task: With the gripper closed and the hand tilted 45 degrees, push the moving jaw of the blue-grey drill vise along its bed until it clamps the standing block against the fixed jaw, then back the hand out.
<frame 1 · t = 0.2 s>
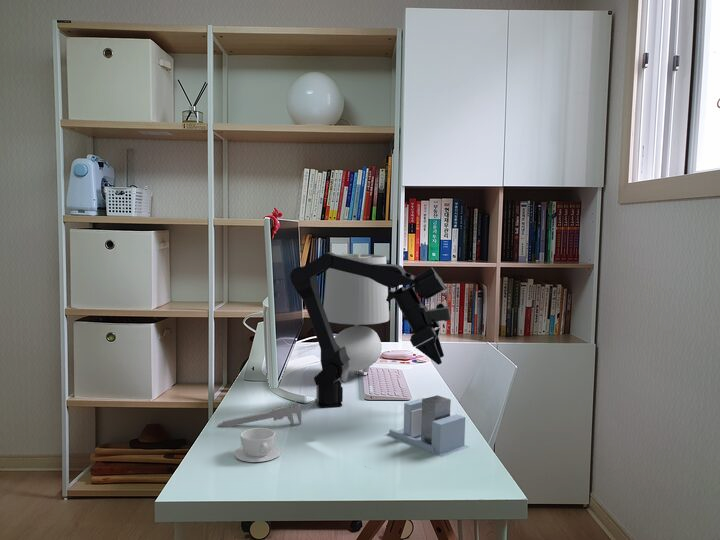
hand: (441, 360, 154), 15 cm above the table, tool tilted 30°, fingers open, 9 cm apart
free jaw: (417, 418, 136), point 5 cm above the table, slide at 0.0 cm
block: (435, 442, 132), point 1 cm above the table, touching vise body
table lamp: (354, 377, 191), on the table
teacup: (258, 455, 127), on the table
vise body: (428, 445, 134), on the table
caliper: (259, 426, 145), on the table
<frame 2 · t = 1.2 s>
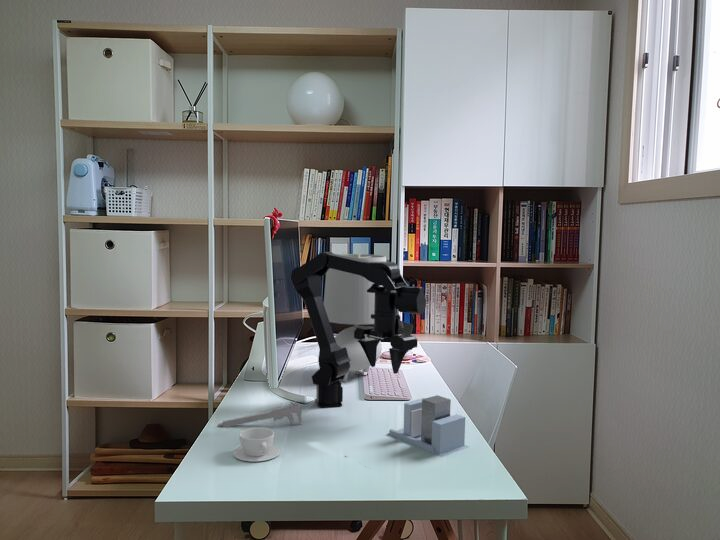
hand: (384, 370, 153), 12 cm above the table, tool pointing down, fingers open, 8 cm apart
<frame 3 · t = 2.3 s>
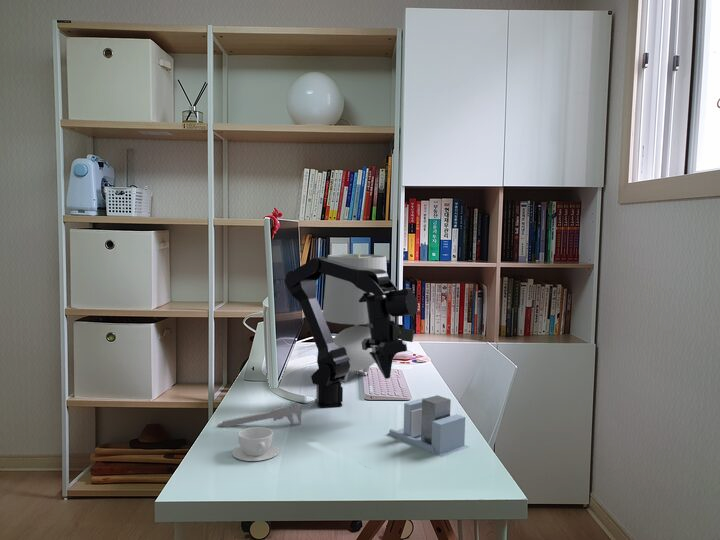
hand: (387, 378, 151), 10 cm above the table, tool pointing down, fingers closed
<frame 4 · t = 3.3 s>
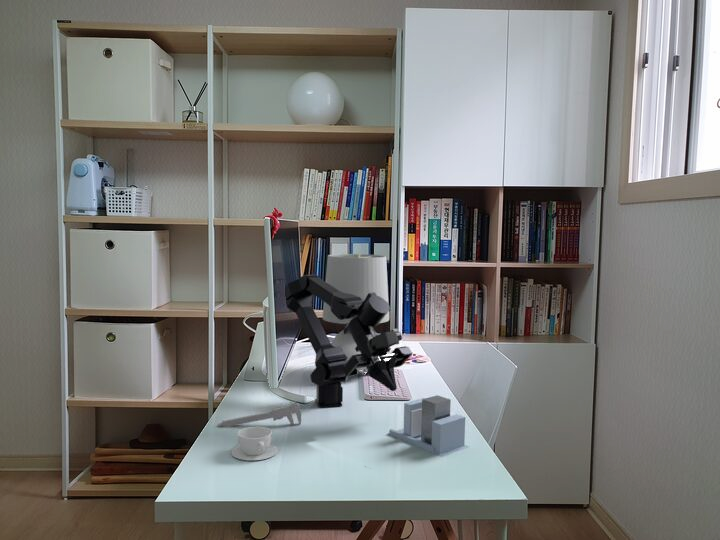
hand: (394, 390, 142), 10 cm above the table, tool tilted 45°, fingers closed
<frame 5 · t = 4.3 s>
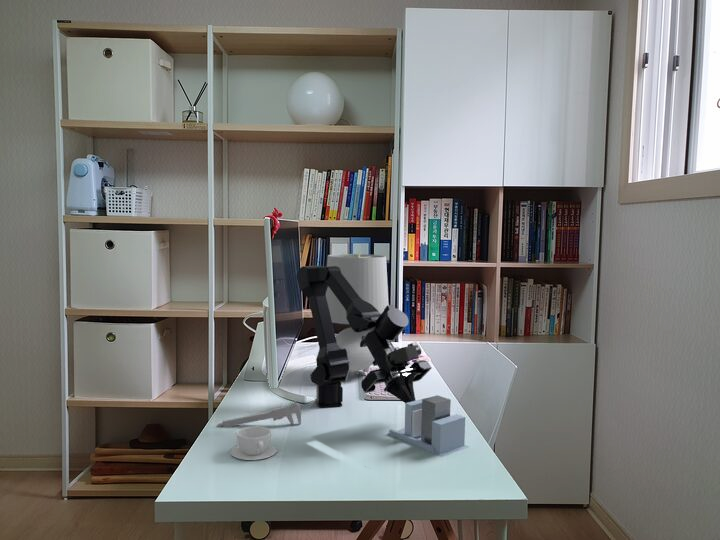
hand: (414, 406, 137), 8 cm above the table, tool tilted 45°, fingers closed, pressing on free jaw
free jaw: (418, 418, 136), point 5 cm above the table, slide at 0.3 cm, touching gripper
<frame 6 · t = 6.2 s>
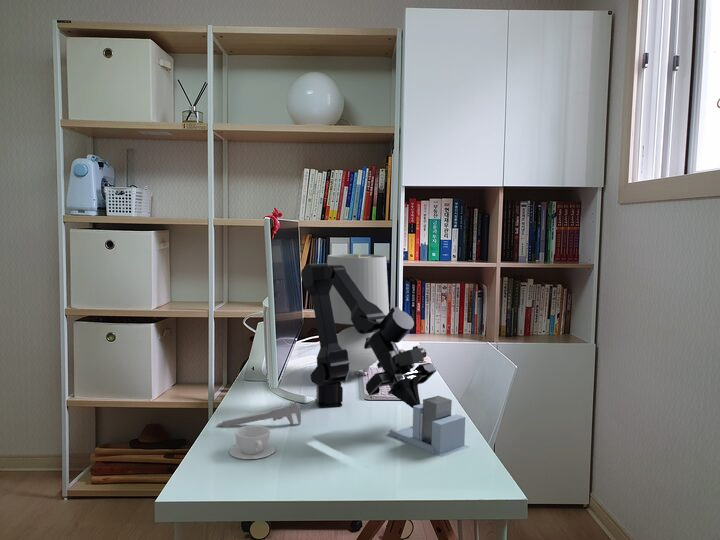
hand: (418, 409, 136), 7 cm above the table, tool tilted 45°, fingers closed
free jaw: (426, 421, 134), point 5 cm above the table, slide at 2.9 cm
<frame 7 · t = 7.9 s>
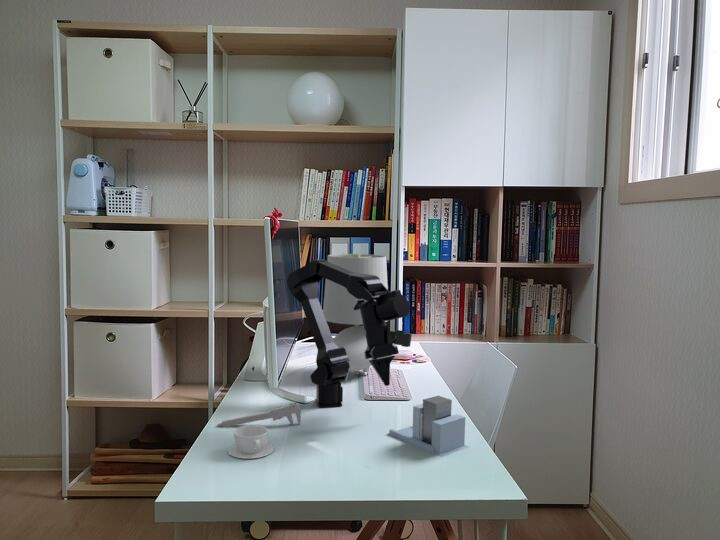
hand: (387, 385, 147), 10 cm above the table, tool tilted 20°, fingers closed
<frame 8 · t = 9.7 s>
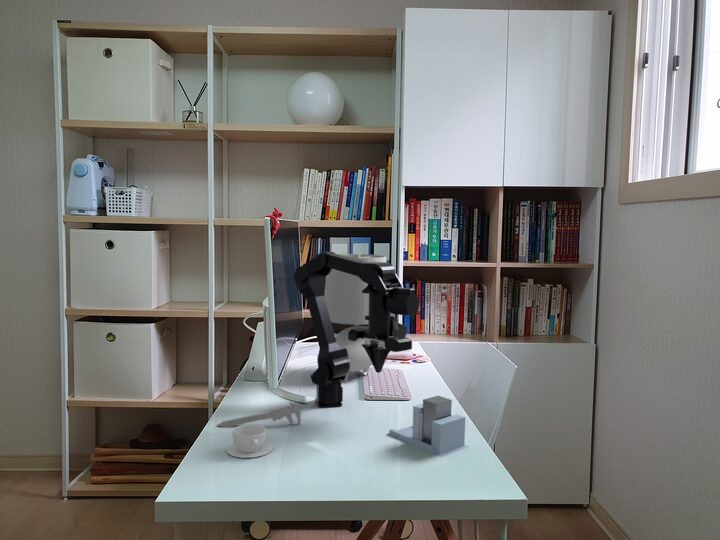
hand: (378, 372, 151), 12 cm above the table, tool pointing down, fingers closed
at the end: free jaw slide at 2.9 cm; block tilted 0°; block 0.1 cm from the target spot on the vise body, point 1.2 cm above the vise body's base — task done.
